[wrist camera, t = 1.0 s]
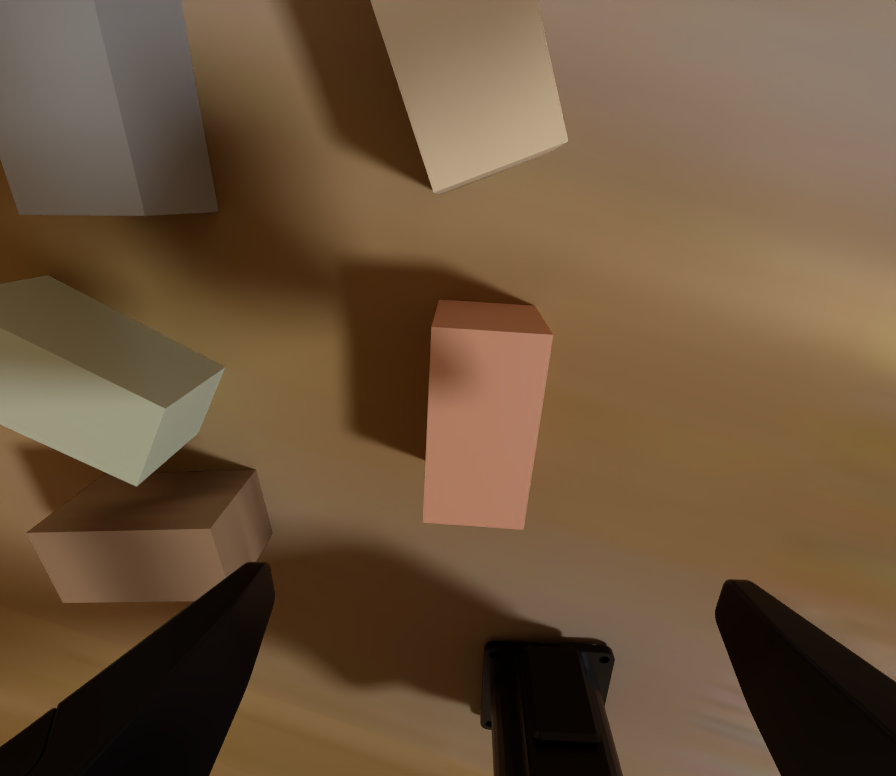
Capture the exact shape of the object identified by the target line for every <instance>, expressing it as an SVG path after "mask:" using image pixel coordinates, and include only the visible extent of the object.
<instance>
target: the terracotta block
mask: <svg viewBox="0 0 896 776" xmlns="http://www.w3.org/2000/svg"><path fill="white" fill-rule="evenodd" d="M552 340H553V334H552V332H551V331H550V329H549V327H548V326H547V324H546V323H545V321H544V320H543V318H542V316H541V315H540V313H539V312H538V310H537V308H536V307H535V306H534V305H518V304H503V303H487V302H472V301H456V300H441V299H439V302H438V305H437V309H436V312H435V316H434V319H433V323H432V327H431V348H430V371H429V394H428V417H427V440H426V464H425V487H424V510H423V522H424V523H438V524H452V525H466V526H480V527H494V528H507V529H521V530H524V523H525V517H526V510H527V503H528V497H529V490H530V484H531V477H532V471H533V464H534V458H535V451H536V444H537V438H538V431H539V425H540V418H541V412H542V405H543V399H544V392H545V386H546V379H547V372H548V366H549V359H550V353H551V346H552Z"/></svg>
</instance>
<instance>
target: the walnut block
mask: <svg viewBox="0 0 896 776" xmlns="http://www.w3.org/2000/svg"><path fill="white" fill-rule="evenodd" d="M27 535H28V537H29V539H30V541H31V543H32V545H33V547H34V549H35V551H36V553H37V554H38V556H39V558H40V560H41V562H42V564H43V566H44V568H45V570H46V572H47V574H48V575H49V577H50V579H51V581H52V583H53V585H54V587H55V589H56V591H57V593H58V594H59V596H60V598H61V600H62V602H63V603H99V602H177V601H196V600H197V599H198V598H199V597H201V596H202V595H203V594H205V593H206V592H207V591H209V590H210V589H211V588H213V587H214V586H215V585H217V584H218V583H219V582H221V581H222V580H223V579H225V578H226V577H227V576H229V575H230V574H231V573H233V572H234V571H235V570H237V569H238V568H239V567H241V566H242V565H243V564H245V563H247V562H256V561H257V559H258V558H259V556H260V554H261V552H262V551H263V549H264V547H265V545H266V544H267V542H268V540H269V539H270V537H271V535H272V529H271V525H270V521H269V518H268V514H267V510H266V506H265V502H264V499H263V495H262V491H261V487H260V483H259V479H258V476H257V472H256V470H227V471H191V472H155V473H152V474H151V475H149V476H148V477H147V478H146V479H145V480H144V481H143V482H141V483H140V484H139V485H138V486H137V487H136V486H134V485H132V484H130V483H127V482H125V481H123V480H121V479H119V478H116V477H114V476H112V475H110V474H103V475H102V476H101V477H99V478H98V479H97V480H95V481H94V482H93V483H91V484H90V485H89V486H87V487H86V488H85V489H83V490H82V491H81V492H79V493H78V494H77V495H76V496H74V497H73V498H72V499H70V500H69V501H68V502H66V503H65V504H64V505H62V506H61V507H60V508H58V509H57V510H56V511H54V512H53V513H52V514H50V515H49V516H48V517H46V518H45V519H44V520H43V521H41V522H40V523H39V524H37V525H36V526H35V527H33V528H32V529H31V530H29V531H28V532H27Z"/></svg>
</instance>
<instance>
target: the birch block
mask: <svg viewBox="0 0 896 776" xmlns="http://www.w3.org/2000/svg"><path fill="white" fill-rule="evenodd" d="M370 1H371V4H372V7H373V10H374V13H375V16H376V19H377V22H378V25H379V28H380V31H381V34H382V37H383V40H384V43H385V46H386V49H387V52H388V55H389V58H390V61H391V64H392V67H393V71H394V74H395V77H396V80H397V83H398V86H399V89H400V92H401V95H402V98H403V101H404V104H405V107H406V110H407V113H408V116H409V119H410V122H411V125H412V128H413V131H414V134H415V137H416V141H417V144H418V147H419V150H420V153H421V156H422V159H423V162H424V165H425V168H426V171H427V174H428V177H429V180H430V183H431V186H432V189H433V192H434V193H438V194H444V193H446V192H449V191H452V190H454V189H457V188H460V187H462V186H465V185H468V184H470V183H473V182H475V181H478V180H481V179H483V178H486V177H489V176H491V175H494V174H497V173H499V172H502V171H504V170H507V169H510V168H512V167H515V166H518V165H520V164H523V163H526V162H528V161H531V160H534V159H536V158H539V157H541V156H544V155H546V154H547V153H549V152H551V151H552V150H554V149H556V148H558V147H559V146H561V145H563V144H564V143H566V142H568V138H567V133H566V129H565V124H564V120H563V115H562V110H561V106H560V101H559V97H558V92H557V87H556V83H555V78H554V74H553V69H552V64H551V60H550V55H549V51H548V46H547V41H546V37H545V32H544V28H543V23H542V18H541V14H540V9H539V5H538V0H370Z"/></svg>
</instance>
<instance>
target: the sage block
mask: <svg viewBox="0 0 896 776" xmlns="http://www.w3.org/2000/svg"><path fill="white" fill-rule="evenodd" d="M224 369H225V367H224V366H222V365H220V364H218V363H217V362H215V361H213V360H211V359H209V358H207V357H205V356H203V355H201V354H199V353H197V352H195V351H193V350H191V349H190V348H188V347H186V346H184V345H182V344H180V343H178V342H176V341H174V340H172V339H170V338H168V337H166V336H164V335H163V334H161V333H159V332H157V331H155V330H153V329H151V328H149V327H147V326H145V325H143V324H141V323H139V322H137V321H135V320H134V319H132V318H130V317H128V316H126V315H124V314H122V313H120V312H118V311H116V310H114V309H112V308H110V307H108V306H107V305H105V304H103V303H101V302H99V301H97V300H95V299H93V298H91V297H89V296H87V295H85V294H83V293H81V292H80V291H78V290H76V289H74V288H72V287H70V286H68V285H66V284H64V283H62V282H60V281H58V280H56V279H54V278H53V277H51V276H49V275H46V276H41V277H35V278H30V279H24V280H18V281H13V282H7V283H2V284H0V425H2V426H5V427H7V428H9V429H11V430H13V431H16V432H18V433H20V434H22V435H24V436H27V437H29V438H31V439H33V440H35V441H38V442H40V443H42V444H44V445H46V446H48V447H51V448H53V449H55V450H57V451H59V452H62V453H64V454H66V455H68V456H70V457H73V458H75V459H77V460H79V461H81V462H84V463H86V464H88V465H90V466H92V467H94V468H97V469H99V470H101V471H103V472H105V473H108V474H110V475H112V476H114V477H116V478H119V479H121V480H123V481H125V482H127V483H130V484H132V485H134V486H136V487H137V486H138V485H139V484H140V483H141V482H143V481H144V480H145V479H146V478H147V477H148V476H149V475H151V474H152V473H153V472H154V471H155V470H156V469H158V468H159V467H160V466H161V465H162V464H163V463H164V462H166V461H167V460H168V459H169V458H170V457H171V456H172V455H174V454H175V453H176V452H177V451H178V450H179V449H181V448H182V447H183V446H184V445H185V444H186V443H187V442H189V441H190V440H191V439H192V438H193V437H194V436H196V435H197V434H198V432H199V430H200V428H201V425H202V423H203V420H204V418H205V415H206V413H207V411H208V408H209V406H210V403H211V401H212V398H213V396H214V394H215V391H216V389H217V386H218V384H219V382H220V379H221V377H222V374H223V372H224Z"/></svg>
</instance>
